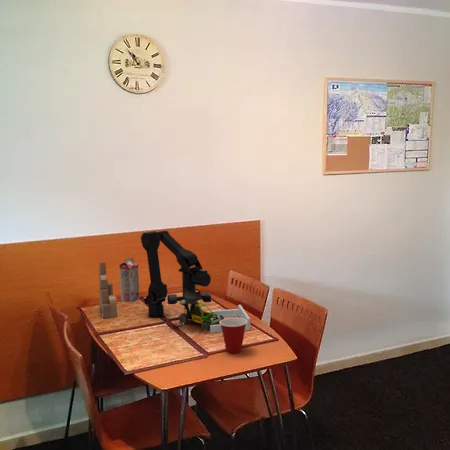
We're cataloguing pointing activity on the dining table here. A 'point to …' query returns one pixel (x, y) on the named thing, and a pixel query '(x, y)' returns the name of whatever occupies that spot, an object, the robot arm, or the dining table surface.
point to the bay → (230, 313)
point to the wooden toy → (106, 295)
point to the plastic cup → (233, 333)
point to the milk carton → (129, 280)
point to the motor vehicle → (201, 317)
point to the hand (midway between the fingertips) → (189, 317)
